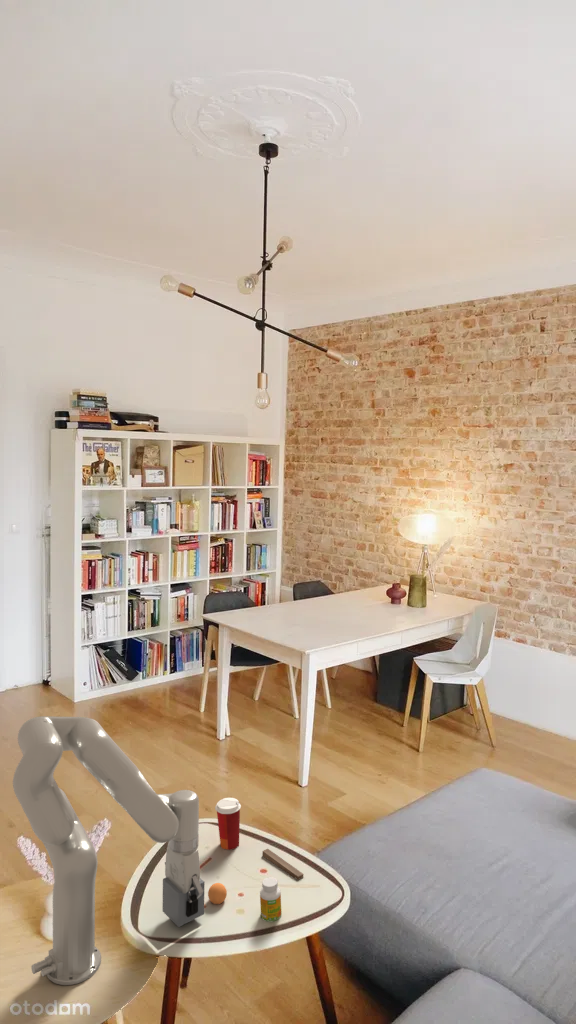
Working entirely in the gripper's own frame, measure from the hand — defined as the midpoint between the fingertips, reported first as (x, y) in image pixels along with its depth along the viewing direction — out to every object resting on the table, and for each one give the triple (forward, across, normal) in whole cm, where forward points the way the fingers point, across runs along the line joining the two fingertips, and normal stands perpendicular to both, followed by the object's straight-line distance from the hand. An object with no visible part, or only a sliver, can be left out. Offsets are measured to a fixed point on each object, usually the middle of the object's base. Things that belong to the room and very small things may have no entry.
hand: (183, 905), depth 175 cm
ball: (+1, 0, +11) cm, 11 cm away
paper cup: (+4, -19, +29) cm, 35 cm away
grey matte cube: (+2, 0, 0) cm, 2 cm away
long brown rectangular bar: (+4, 0, +34) cm, 34 cm away
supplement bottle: (+4, +14, +18) cm, 23 cm away
